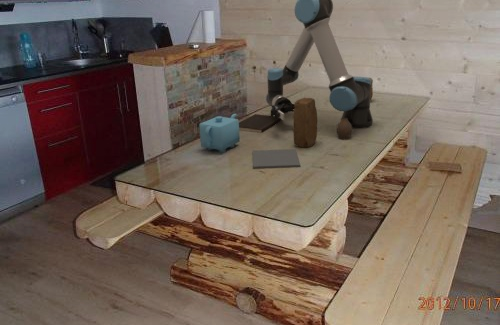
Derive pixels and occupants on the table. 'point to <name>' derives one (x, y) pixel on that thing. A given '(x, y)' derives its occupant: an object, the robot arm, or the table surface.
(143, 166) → the table surface
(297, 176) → the table surface
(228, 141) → the teapot
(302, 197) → the table surface
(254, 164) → the mat
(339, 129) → the vase
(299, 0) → the robot arm
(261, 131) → the hardcover book
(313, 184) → the table surface
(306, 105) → the block
